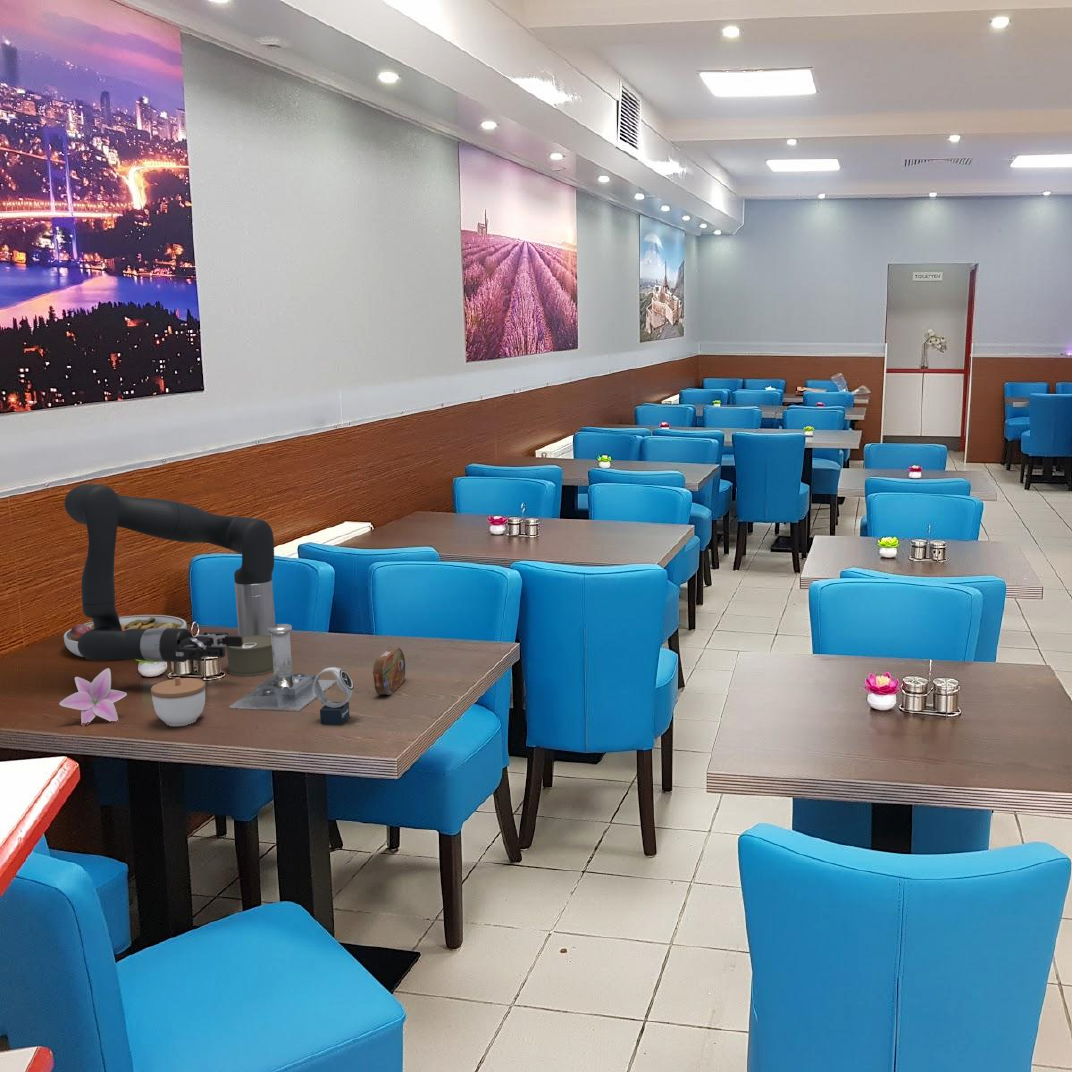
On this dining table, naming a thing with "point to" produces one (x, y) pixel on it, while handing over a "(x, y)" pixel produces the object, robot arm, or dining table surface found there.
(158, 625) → the bowl
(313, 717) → the dining table surface
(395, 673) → the tin
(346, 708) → the watch
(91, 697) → the lily
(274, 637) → the steel pin
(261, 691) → the grey fixture plate
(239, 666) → the can
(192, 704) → the lidded jar
